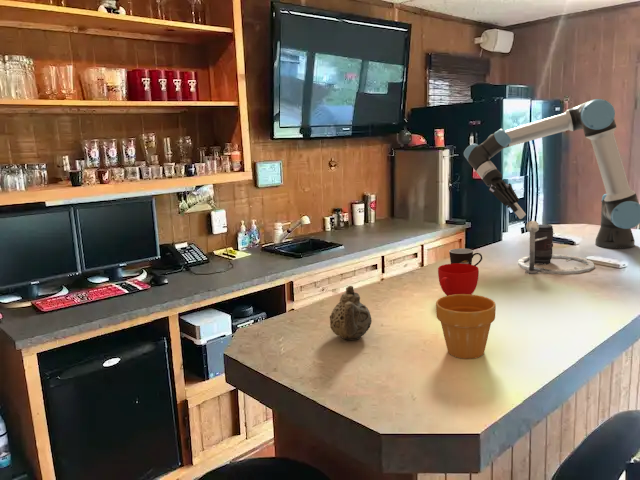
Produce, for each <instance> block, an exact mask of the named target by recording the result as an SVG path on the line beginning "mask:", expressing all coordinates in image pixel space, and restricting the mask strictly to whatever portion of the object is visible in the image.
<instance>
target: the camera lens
mask: <svg viewBox="0 0 640 480" xmlns="http://www.w3.org/2000/svg"><path fill="white" fill-rule="evenodd" d="M543 237H547V238H546V239H543V240H539V241H535V260H534V265H535V264H536V265H549V264H550V263H551V262H552V261H551V260H552V259H553V258H552V254H553V247H554V243H553V240H554V228H553V225H551V224H539V230H538V231H537V232H535V239H539V238H543Z"/></svg>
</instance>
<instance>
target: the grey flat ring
mask: <svg viewBox="0 0 640 480" xmlns="http://www.w3.org/2000/svg"><path fill="white" fill-rule="evenodd" d="M552 259H563V260H565V262H570V261H572V260H573V261H576V262H581V263H583V264H585V265H586V266H583V267H574V269H549V268H548V269H546V268H544V267H540V268H539V267H535V266H534V269H535V270H538V273H543V274H549V275H550V274H553V275H554V274H555V275H571V274H582V273H586V272H591V271H592V270H594V269H595V264H594V262H593V261H591V260H590V259H588V258H585V257H580V256H575V255H568V254H555V253H554V254H553V253H552ZM587 259H588V260H587ZM517 262H518V263H517V265H518V266H519V267H521V269H523V270H526V269H529V264H527V263H526V262H529V255H528V256H523V257H520V258H519V259H518V261H517Z"/></svg>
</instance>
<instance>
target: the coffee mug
mask: <svg viewBox="0 0 640 480" xmlns="http://www.w3.org/2000/svg"><path fill="white" fill-rule="evenodd" d="M448 252H449V260H450V264H456V263H460V264H470V265H473V259H474V257H475V256H476V255H478V256H480V258H479V261H478V262H476V263H475V264H474V266H476V267H477V266H478V265H479V264H480V263H481V262H482V260H483V255H482V254H481V253H479V252H474V250H473V249H470V248H464V247H463V248H461V247H460V248H451V249H449V250H448Z"/></svg>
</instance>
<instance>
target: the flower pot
mask: <svg viewBox="0 0 640 480" xmlns="http://www.w3.org/2000/svg"><path fill="white" fill-rule="evenodd" d="M496 306H497V305H496V302H495V301H494V300H492V299H491V298H489V297H486V296H482V295H478V294H472V295H470V294H455V295H449V296H447V295H445V296H442V297H439V298H438V299H437V300H436V301H435V313H436V318H437V320H438V321H439V322H440V324H441V330H442V333H443V337H444V341H445V346H446V349H447V351H448V353H449V354H450V356H453V357H455V358H459V359H466V360H467V359H476V358H480V357H482V356H483V355H484V354H485V351H486V348H487V347H486V346H487V342H488V339H489V338H488V337H489V334H490V330H491V329H490V328H491V325H492V323H493V322H495V319H496Z"/></svg>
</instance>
